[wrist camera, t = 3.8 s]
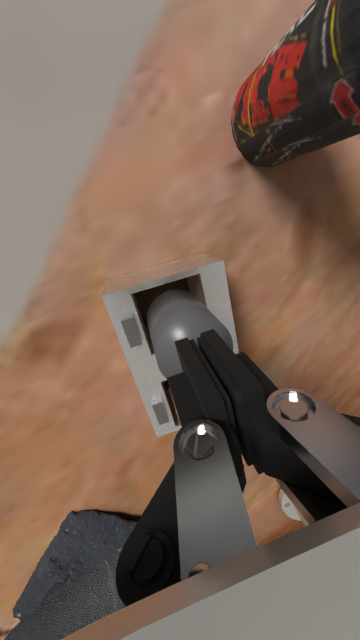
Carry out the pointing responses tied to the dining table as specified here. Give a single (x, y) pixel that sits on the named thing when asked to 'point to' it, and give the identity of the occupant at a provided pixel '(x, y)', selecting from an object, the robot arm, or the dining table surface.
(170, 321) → the knob round
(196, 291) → the mount
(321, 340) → the dining table surface
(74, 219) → the dining table surface
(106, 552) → the dark slate chunk
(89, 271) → the dining table surface
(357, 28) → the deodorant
